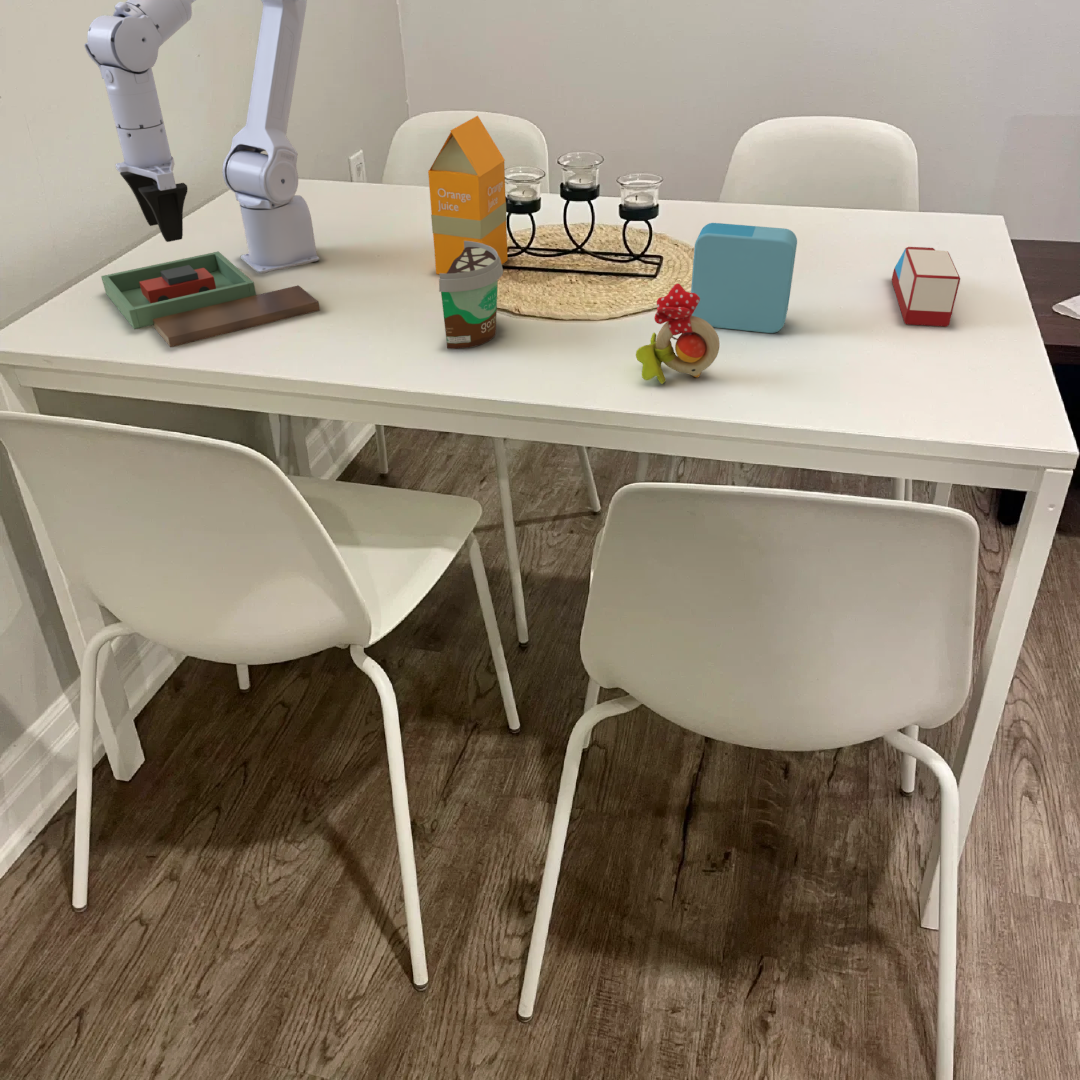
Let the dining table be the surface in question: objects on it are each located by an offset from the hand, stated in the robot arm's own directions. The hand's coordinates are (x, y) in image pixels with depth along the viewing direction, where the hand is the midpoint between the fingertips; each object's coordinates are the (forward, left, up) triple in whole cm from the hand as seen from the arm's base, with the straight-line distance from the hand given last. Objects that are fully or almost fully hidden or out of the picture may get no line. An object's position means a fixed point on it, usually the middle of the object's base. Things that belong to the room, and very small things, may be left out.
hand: (165, 231), depth 132 cm
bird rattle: (-41, +57, -10) cm, 71 cm away
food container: (-28, +34, -10) cm, 45 cm away
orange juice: (-39, +13, -10) cm, 42 cm away
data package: (-57, +50, -10) cm, 76 cm away
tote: (0, 0, -9) cm, 9 cm away
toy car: (0, 0, -9) cm, 9 cm away
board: (-4, +12, -9) cm, 16 cm away
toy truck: (-81, +59, -10) cm, 101 cm away
